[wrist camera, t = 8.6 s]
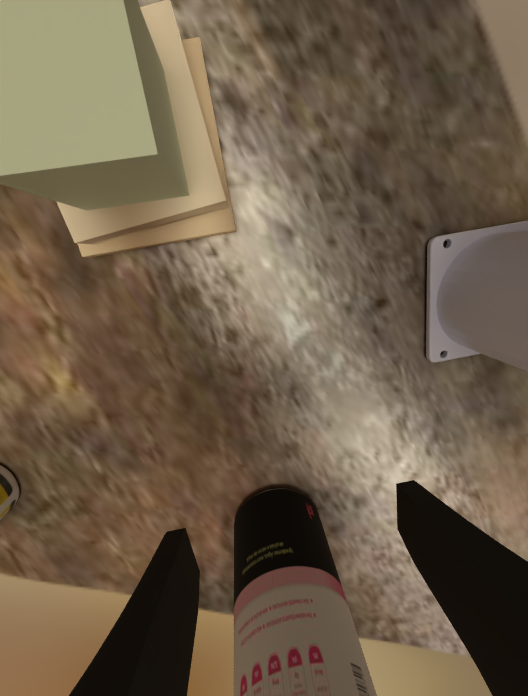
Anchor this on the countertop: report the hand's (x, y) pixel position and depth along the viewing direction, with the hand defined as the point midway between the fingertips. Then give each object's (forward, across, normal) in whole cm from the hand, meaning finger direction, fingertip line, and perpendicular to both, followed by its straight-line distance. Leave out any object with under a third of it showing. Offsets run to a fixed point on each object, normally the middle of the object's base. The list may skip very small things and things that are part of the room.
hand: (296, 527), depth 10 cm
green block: (+7, +4, -14) cm, 16 cm away
